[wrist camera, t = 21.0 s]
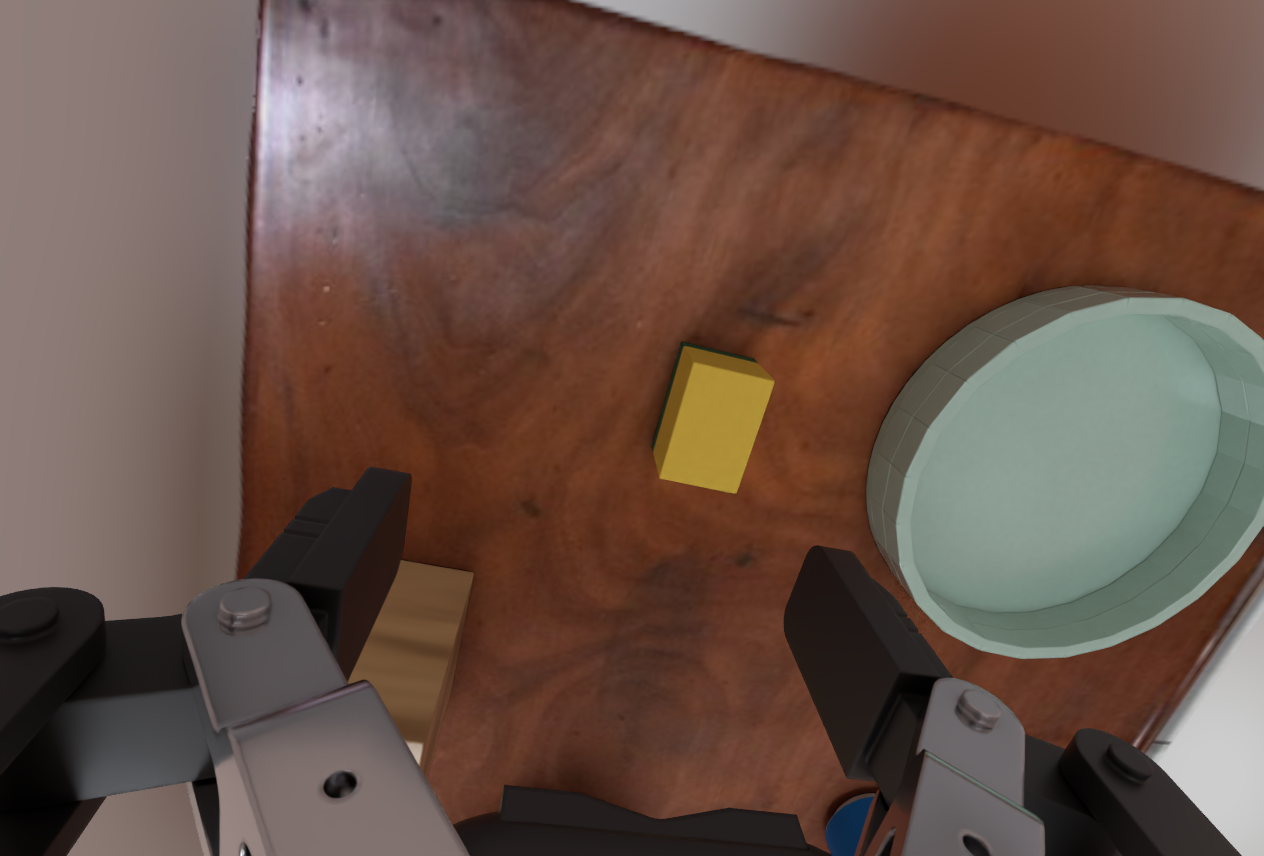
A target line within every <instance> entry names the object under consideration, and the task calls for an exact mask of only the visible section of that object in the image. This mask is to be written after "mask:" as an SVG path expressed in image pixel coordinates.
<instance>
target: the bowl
mask: <svg viewBox="0 0 1264 856" xmlns="http://www.w3.org/2000/svg"><path fill="white" fill-rule="evenodd" d="M866 497H867V513H868V518H869V523H870V528H871V531H872V534H873V537H874V539H875V542H876V545H877V547H878V549H879V551H880V553H881V554H882V556H883V558H884V560H885V561H886V563H887V565H888V566H889V568H890V570H891V572H892V573H893V574H894V576H895V577H896V578H897V580H898V581H899V582H900V583H901V585H902V586H903V587H904V589H905V590H906V591H907V592H908V594H909V595H910V596H911V597H912V599H913V600H914V601H915V603H916V604H917V605H918V606H919V607H920V608H921V609H922V610H923V611H924V612H925V613H926V614H927V615H928V616H929V617H930V618H931V619H932V620H933V622H934V623H935V624H936V625H937V626H938V627H939V628H940V629H941V630H942V631H944V632H945V633H947V634H949V635H951V636H953V637H955V638H957V639H959V640H961V641H962V642H964V643H966V644H968V645H970V646H972V647H974V648H976V649H978V650H981V651H986V652H990V653H995V654H1000V655H1005V656H1009V657H1014V658H1020V659H1031V658H1064V657H1070V656H1074V655H1078V654H1082V653H1087V652H1091V651H1095V650H1099V649H1103V648H1108V647H1111V646H1114V645H1116V644H1118V643H1121V642H1123V641H1125V640H1127V639H1130V638H1132V637H1134V636H1136V635H1139V634H1141V633H1143V632H1145V631H1148V630H1150V629H1152V628H1154V627H1156V626H1158V625H1160V624H1161V623H1163V622H1164V621H1166V620H1167V619H1169V618H1170V617H1172V616H1173V615H1175V614H1176V613H1178V612H1179V611H1181V610H1182V609H1184V608H1185V607H1187V606H1188V605H1190V604H1191V603H1193V602H1194V601H1195V600H1197V599H1198V598H1200V597H1199V596H1202V595H1203V594H1204V593H1205V592H1206V591H1207V590H1208V589H1209V588H1210V587H1211V586H1212V585H1213V584H1214V583H1215V582H1216V581H1217V580H1219V579H1220V578H1221V577H1222V576H1223V575H1224V574H1225V573H1226V572H1227V571H1228V570H1229V569H1230V568H1231V567H1232V566H1233V565H1234V564H1235V563H1236V562H1237V561H1238V560H1239V559H1240V558H1241V556H1242V555H1243V554H1244V552H1245V551H1246V549H1247V548H1248V547H1249V545H1250V544H1251V542H1252V541H1253V540H1254V538H1255V537H1256V535H1257V534H1258V533H1259V531H1260V530H1261V528H1262V527H1263V526H1264V340H1263V339H1262V338H1261V337H1260V336H1258V335H1257V334H1256V333H1255V332H1254V331H1252V330H1251V329H1250V328H1249V327H1247V326H1246V325H1245V324H1244V323H1242V322H1241V321H1240V320H1239V319H1237V318H1236V317H1235V316H1234V315H1233V314H1230V313H1228V312H1225V311H1222V310H1219V309H1216V308H1213V307H1210V306H1207V305H1204V304H1201V303H1198V302H1195V301H1192V300H1189V299H1186V298H1181V297H1176V296H1171V295H1166V294H1160V293H1156V292H1150V291H1145V290H1140V289H1135V288H1121V287H1111V286H1100V285H1085V286H1068V287H1063V288H1058V289H1052V290H1047V291H1042V292H1039V293H1036V294H1033V295H1030V296H1027V297H1023V298H1020V299H1017V300H1015V301H1013V302H1010V303H1008V304H1006V305H1004V306H1002V307H999V308H997V309H995V310H993V311H991V312H989V313H987V314H986V315H984V316H982V317H981V318H979V319H977V320H976V321H974V322H972V323H970V324H969V325H967V326H966V327H965V328H963V329H962V330H961V331H959V332H958V333H957V334H955V335H954V336H953V337H951V338H950V339H949V340H947V341H946V342H945V343H944V344H943V345H942V346H940V347H939V348H938V349H937V350H936V351H935V352H934V353H933V354H932V355H931V356H930V357H929V358H928V359H927V360H926V361H925V362H924V363H923V364H922V365H921V366H920V368H919V369H918V370H917V371H916V372H915V373H914V374H913V376H912V377H911V378H910V379H909V380H908V382H907V383H906V385H905V386H904V388H903V389H902V390H901V392H900V393H899V395H898V396H897V398H896V399H895V401H894V402H893V404H892V406H891V408H890V410H889V412H888V414H887V416H886V417H885V419H884V421H883V423H882V425H881V428H880V431H879V433H878V436H877V439H876V441H875V444H874V447H873V451H872V455H871V459H870V463H869V467H868V476H867V486H866Z"/></svg>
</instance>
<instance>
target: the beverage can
mask: <svg viewBox="0 0 1264 856" xmlns="http://www.w3.org/2000/svg"><path fill="white" fill-rule="evenodd" d="M875 795H876V793H868V794H862V795H858V796H855V797H853V798H851V799H849V800H847V801H846V802H844V803H843V804H842V805H841V806H840V807H839V808H838V809H837V810H836V812H835V813H834V815H833V816H832V817H831V819H830V821H829V822H828V824H827V827H826V833H825V836H826V841H827V844H828V847H829V850H830V852H831V855H833V856H854V855H855V852H856V849H857V846H858V843H859V840H860V836H861V833H862V830H863V827H864V824H865V821H866V817H867V814H868V811H869V808H870V805H871V803H872V800H873V799H874V797H875Z"/></svg>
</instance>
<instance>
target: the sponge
mask: <svg viewBox="0 0 1264 856" xmlns="http://www.w3.org/2000/svg"><path fill="white" fill-rule="evenodd" d="M774 383H775V381H774V380H773V379H772V378H771V377H770V376H769V375H768V373H767V372H766V371H765V370H764V369H763V368H762V367H761V366H760V365H759V364H758V362H757V361H756V360H755V359H752V358H748V357H744V356H740V355H736V354H731V353H727V352H723V351H719V350H715V349H711V348H706V347H702V346H698V345H694V344H690V343H685V342H681V345H680V348H679V352H678V355H677V359H676V362H675V366H674V369H673V373H672V376H671V380H670V383H669V387H668V390H667V394H666V397H665V401H664V404H663V408H662V411H661V415H660V418H659V422H658V425H657V429H656V432H655V436H654V439H653V443H652V446H651V447H652V451H653V454H654V458H655V462H656V466H657V470H658V475H659V478H661V479H665V480H670V481H675V482H680V483H685V484H690V485H695V486H700V487H704V488H709V489H714V490H719V491H724V492H729V493H734V494H736V493H737V490H738V487H739V485H740V482H741V479H742V476H743V473H744V470H745V467H746V464H747V461H748V458H749V456H750V453H751V450H752V447H753V444H754V441H755V438H756V435H757V432H758V430H759V427H760V424H761V421H762V418H763V415H764V412H765V409H766V406H767V403H768V401H769V398H770V395H771V392H772V389H773V386H774Z"/></svg>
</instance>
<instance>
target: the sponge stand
mask: <svg viewBox="0 0 1264 856" xmlns="http://www.w3.org/2000/svg"><path fill="white" fill-rule="evenodd" d="M473 577H474V573H473V572H468V571H462V570H456V569H450V568H444V567H438V566H433V565H427V564H421V563H415V562H409V561H404V560H401V561H400V565H399V569H398V572H397V575H396V577H395V580H394V582H393V584H392V586H391V588H390V591H389V593H388V595H387V597H386V599H385V602H384V604H383V606H382V608H381V610H380V613H379V615H378V617H377V619H376V621H375V624H374V626H373V628H372V630H371V632H370V634H369V637H368V639H367V641H366V643H365V645H364V648H363V650H362V652H361V654H360V656H359V659H358V661H357V663H356V665H355V667H354V670H353V672H352V674H351V676H350V678H349V680H348V683H349V684H351V683H354V682H357V681H360V680H364V679H365V680H368V681H369V682H370V683H371V684H372V685H373V686H374V687H375V689H376V690H377V692H378V694H379V695H380V697H381V699H382V701H383V702H384V704H385V706H386V708H387V709H388V711H389V713H390V715H391V717H392V718H393V720H394V722H395V724H396V725H397V727H398V729H399V731H400V732H401V734H402V736H403V738H404V740H405V741H406V743H407V745H408V747H409V748H410V750H411V752H412V754H413V755H414V757H415V759H416V761H417V763H418V764H419V766H420V768H421V770H422V771H423V773H424V775H425V777H426V778H427V780H428V776H429V772H430V769H431V765H432V761H433V757H434V754H435V750H436V746H437V743H438V739H439V735H440V731H441V728H442V724H443V720H444V717H445V713H446V709H447V705H448V702H449V698H450V694H451V690H452V685H453V679H454V674H455V669H456V664H457V659H458V654H459V649H460V643H461V638H462V633H463V628H464V623H465V618H466V613H467V607H468V602H469V597H470V592H471V587H472V582H473Z"/></svg>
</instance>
